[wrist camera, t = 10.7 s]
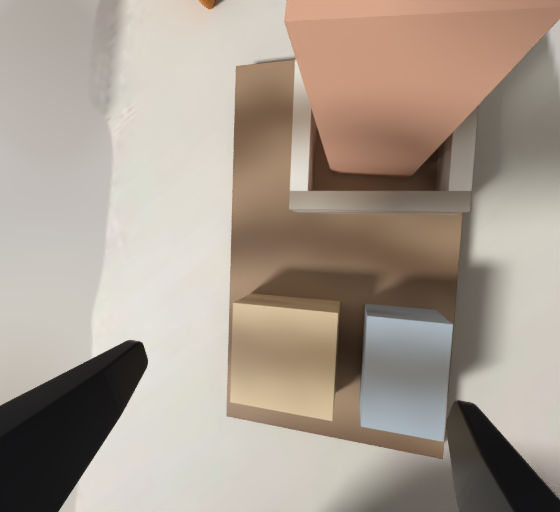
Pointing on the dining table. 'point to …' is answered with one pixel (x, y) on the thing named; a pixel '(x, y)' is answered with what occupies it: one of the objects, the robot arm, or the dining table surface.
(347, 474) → the dining table surface
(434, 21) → the post
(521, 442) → the dining table surface
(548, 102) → the dining table surface
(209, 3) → the toy rocket
